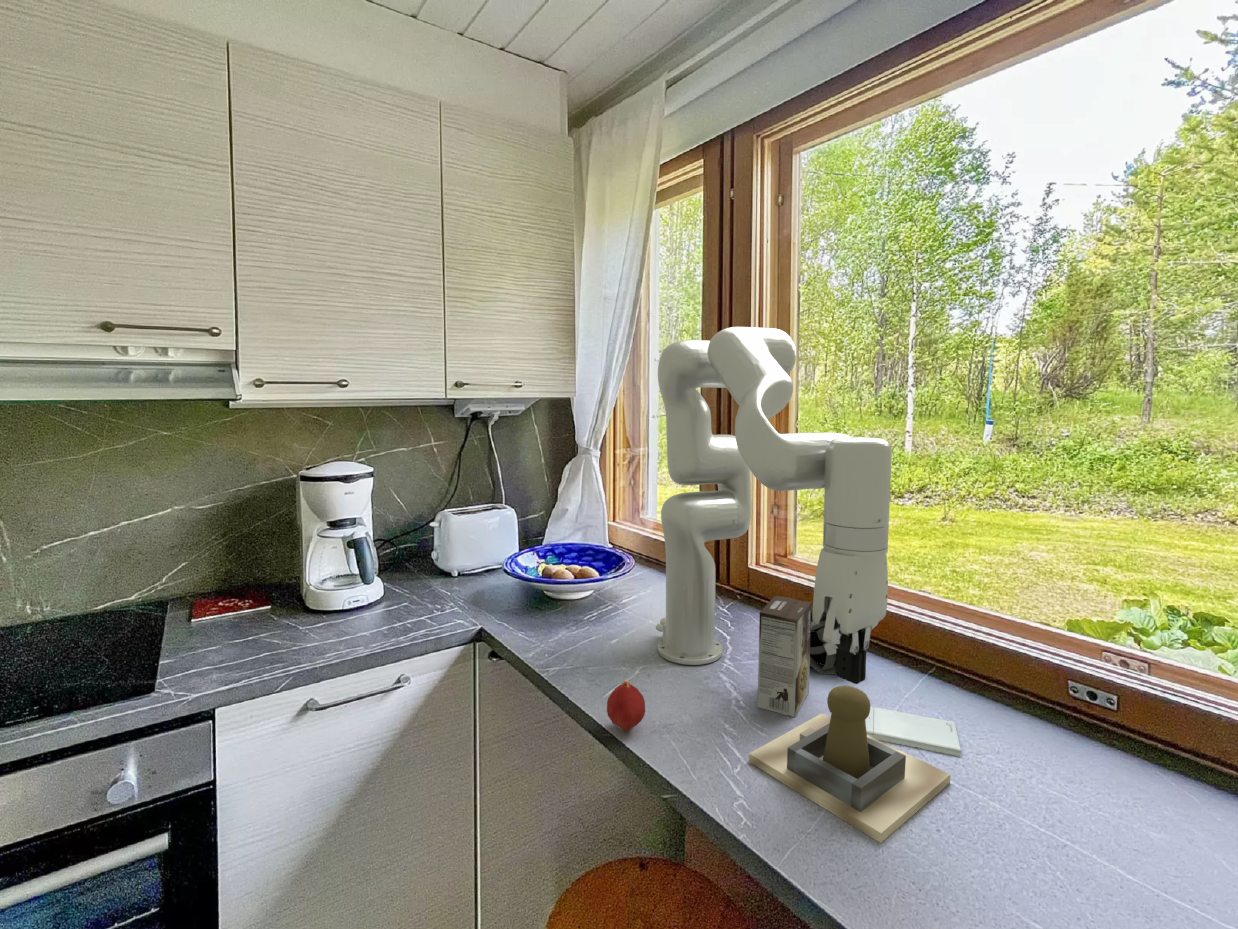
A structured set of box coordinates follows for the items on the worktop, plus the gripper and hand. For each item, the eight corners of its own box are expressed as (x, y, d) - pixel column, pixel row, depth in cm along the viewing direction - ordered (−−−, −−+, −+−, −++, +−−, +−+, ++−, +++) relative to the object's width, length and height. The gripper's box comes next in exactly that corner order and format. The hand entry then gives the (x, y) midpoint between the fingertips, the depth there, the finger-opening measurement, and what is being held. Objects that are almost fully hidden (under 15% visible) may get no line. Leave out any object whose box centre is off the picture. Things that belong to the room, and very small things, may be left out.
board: (748, 761, 82) (749, 732, 81) (821, 720, 92) (822, 694, 92) (880, 843, 67) (882, 808, 66) (949, 783, 77) (951, 752, 77)
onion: (601, 724, 92) (601, 674, 91) (636, 717, 94) (636, 668, 93) (614, 744, 86) (614, 692, 85) (651, 736, 88) (651, 685, 87)
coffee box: (772, 684, 104) (774, 594, 102) (809, 693, 101) (813, 601, 99) (755, 707, 96) (757, 611, 94) (795, 718, 93) (799, 618, 91)
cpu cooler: (800, 672, 108) (802, 619, 107) (798, 659, 114) (800, 608, 112) (861, 679, 106) (863, 624, 105) (856, 665, 111) (858, 612, 110)
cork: (867, 760, 80) (871, 683, 79) (873, 789, 74) (877, 705, 73) (820, 753, 82) (823, 677, 80) (822, 781, 76) (825, 699, 75)
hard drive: (954, 720, 90) (865, 703, 95) (961, 749, 83) (864, 729, 88) (953, 731, 90) (865, 713, 95) (960, 761, 83) (864, 740, 88)
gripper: (860, 524, 81) (855, 653, 83) (792, 540, 72) (789, 685, 74) (915, 533, 75) (908, 672, 77) (848, 552, 66) (843, 709, 68)
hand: (850, 678), depth 76 cm, fingers closed
